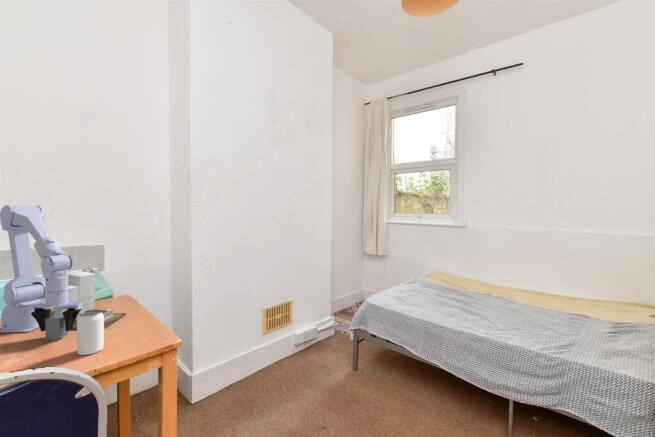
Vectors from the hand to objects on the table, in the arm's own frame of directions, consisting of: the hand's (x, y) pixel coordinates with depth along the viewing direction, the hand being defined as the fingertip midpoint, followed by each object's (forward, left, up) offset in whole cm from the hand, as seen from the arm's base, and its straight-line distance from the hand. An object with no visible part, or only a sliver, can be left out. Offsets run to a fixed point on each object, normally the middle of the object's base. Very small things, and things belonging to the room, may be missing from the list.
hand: (57, 330), depth 99 cm
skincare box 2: (-11, +27, -3) cm, 29 cm away
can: (+17, -10, -3) cm, 20 cm away
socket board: (+4, +13, -2) cm, 14 cm away
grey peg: (0, 0, -2) cm, 2 cm away
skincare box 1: (-10, +18, -3) cm, 21 cm away
